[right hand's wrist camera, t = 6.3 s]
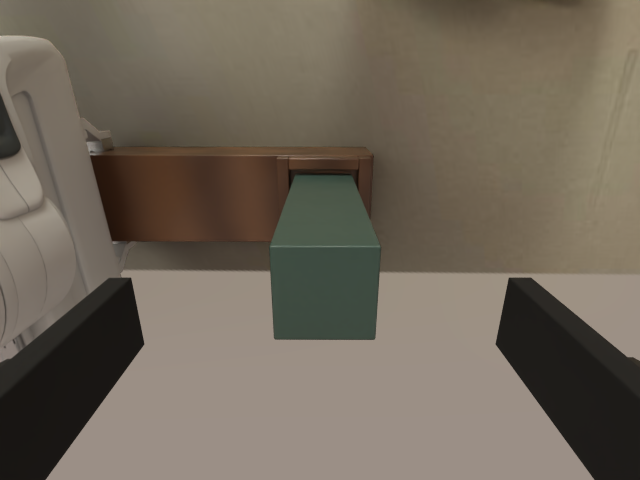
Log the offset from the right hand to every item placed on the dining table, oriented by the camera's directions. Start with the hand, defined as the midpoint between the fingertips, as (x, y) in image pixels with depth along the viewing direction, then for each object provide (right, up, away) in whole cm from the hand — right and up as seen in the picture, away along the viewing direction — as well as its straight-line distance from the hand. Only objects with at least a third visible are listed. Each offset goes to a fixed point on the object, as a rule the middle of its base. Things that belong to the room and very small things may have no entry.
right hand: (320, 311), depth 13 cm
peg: (0, +5, +14) cm, 15 cm away
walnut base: (-8, +7, +19) cm, 22 cm away
